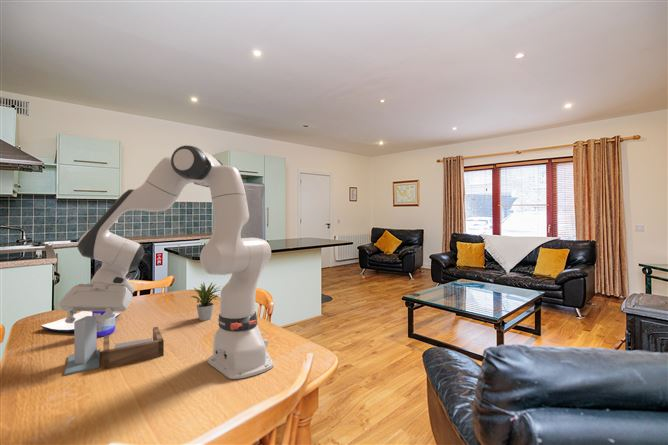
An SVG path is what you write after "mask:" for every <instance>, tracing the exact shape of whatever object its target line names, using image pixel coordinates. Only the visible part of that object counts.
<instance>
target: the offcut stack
mask: <svg viewBox="0 0 668 445" xmlns="http://www.w3.org/2000/svg"><path fill="white" fill-rule="evenodd" d="M150 341H153V337H152V338H144V339H139V340H132V341H125V342H118V343H115V345H114V348H113V349H115V348H120V347H125V346H130V345H135V344H140V343H145V342H150Z"/></svg>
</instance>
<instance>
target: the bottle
mask: <svg viewBox="0 0 668 445" xmlns="http://www.w3.org/2000/svg"><path fill="white" fill-rule="evenodd" d="M91 312H92V316H96V320H97V318H98V316H102V315H103V314H104V313H105V312H106V311H91ZM115 313H116V311H114V312H113V314H112V315H111V316H109V317H108V318H107V319H106V320H105V322H104V323H103V324H98V323H97V337H101V338H102V337H104V336H107V335H110V334H113V333H114V332H115V330H116V318H115Z"/></svg>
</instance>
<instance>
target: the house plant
mask: <svg viewBox="0 0 668 445" xmlns="http://www.w3.org/2000/svg"><path fill="white" fill-rule="evenodd" d="M216 285H217V283H215V284H213V282H211V283H210V284H209V286H207V289H206V286H205V282H204V281H203V282H202V283H200V286H199V288H200V289H197V288H196V287H194V286H193V289H194V292H195V293H196V294H197V295H198V296H196V295H191V296H190V298H194V299H196V301H197V302H196V309H197V316H198V320H199V321H202V322H203V321H208V320H211V319H212V316H213V311H214V305H215V304H214V302H212V300H215V301H217V299H216V298H220V296H219V295H220V293H218V294H215V293H217V292H221V290H222V289H221V287H222V288H223V285H221V286H218V287H215V286H216Z"/></svg>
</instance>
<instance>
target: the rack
mask: <svg viewBox="0 0 668 445" xmlns="http://www.w3.org/2000/svg"><path fill="white" fill-rule="evenodd" d="M164 342H165V340H164V338H163V336H162V333H161V331H160V329H159V326H153V327H152V341H150V342H145V343H140V344H135V345H130V346H125V347H120V348H115V349H114V348H111V349H110V334H108V335H105V336H103V355H102V357H103V358H102V360H103V362H102V363H103V364H102V365H103V366H102V367H103V370H105V369H110V368H114V367H119V366H123V365H127V364H132V363H135V362H136V363H137V362H140V361H141V362H142V361H145V360H149V359H154V358H159V357H163V356H164V354H165V353H164V348H165V347H164V346H165V345H164Z"/></svg>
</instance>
